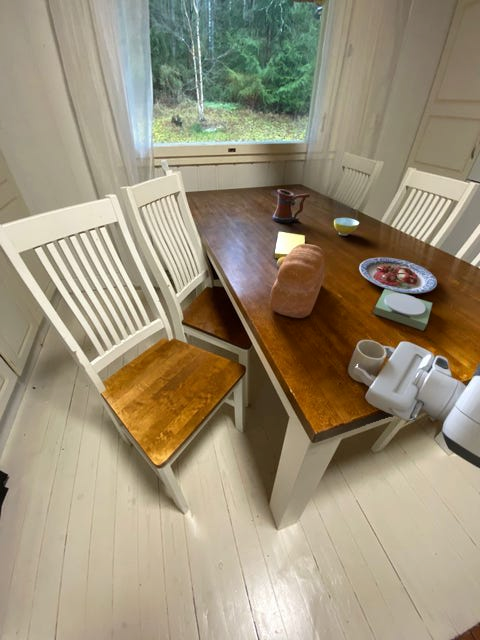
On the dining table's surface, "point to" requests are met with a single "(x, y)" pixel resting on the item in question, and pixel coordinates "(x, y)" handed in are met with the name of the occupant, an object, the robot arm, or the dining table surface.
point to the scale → (403, 309)
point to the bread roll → (280, 262)
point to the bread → (298, 281)
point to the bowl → (345, 225)
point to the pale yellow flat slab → (287, 243)
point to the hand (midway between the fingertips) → (363, 356)
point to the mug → (287, 206)
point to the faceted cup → (367, 358)
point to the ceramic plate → (398, 275)
